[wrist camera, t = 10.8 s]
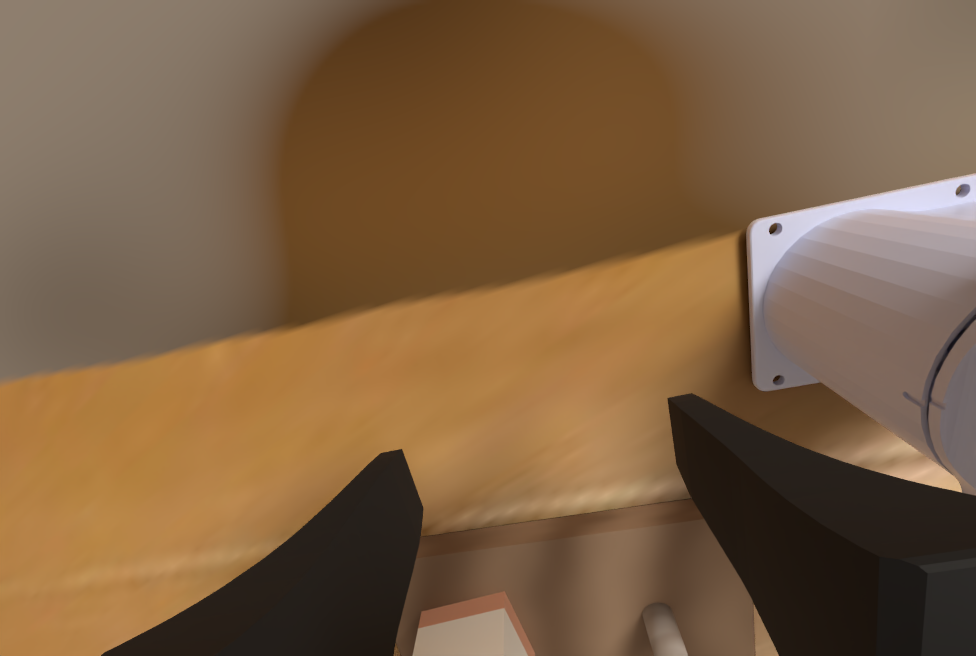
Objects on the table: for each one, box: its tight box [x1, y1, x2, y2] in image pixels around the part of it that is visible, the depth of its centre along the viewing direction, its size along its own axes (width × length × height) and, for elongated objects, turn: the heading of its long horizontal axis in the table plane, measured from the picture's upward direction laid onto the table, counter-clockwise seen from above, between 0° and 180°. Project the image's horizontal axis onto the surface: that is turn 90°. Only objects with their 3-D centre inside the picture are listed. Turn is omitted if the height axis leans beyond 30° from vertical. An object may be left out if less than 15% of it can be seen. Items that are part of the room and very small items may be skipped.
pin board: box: [396, 499, 756, 656], centre depth 24 cm, size 20×12×6 cm, turn 103°
